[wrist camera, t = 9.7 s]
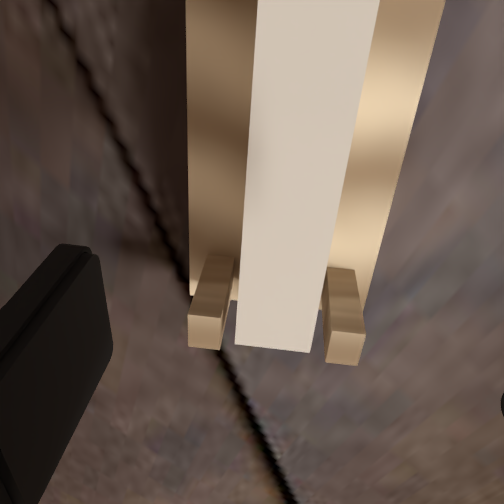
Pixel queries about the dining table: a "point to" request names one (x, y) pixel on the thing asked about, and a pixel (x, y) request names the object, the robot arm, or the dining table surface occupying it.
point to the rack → (236, 151)
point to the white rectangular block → (297, 160)
